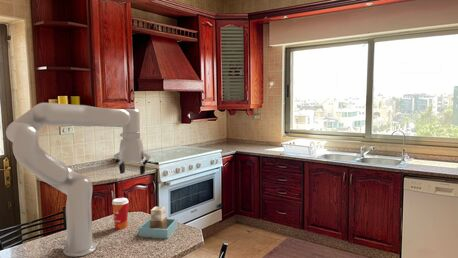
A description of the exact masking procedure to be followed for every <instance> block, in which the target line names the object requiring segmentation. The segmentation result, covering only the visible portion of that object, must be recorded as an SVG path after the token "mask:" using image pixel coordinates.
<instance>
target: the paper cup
mask: <svg viewBox="0 0 458 258" xmlns="http://www.w3.org/2000/svg"><path fill="white" fill-rule="evenodd" d="M129 203H130V202H129V199H128V198H126V197H118V198H114V199H113V200H112V202H111V204H112V212H113V221H114V223H113V224H114V230H123V229H126V228H127V227H128V211H129Z"/></svg>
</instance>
